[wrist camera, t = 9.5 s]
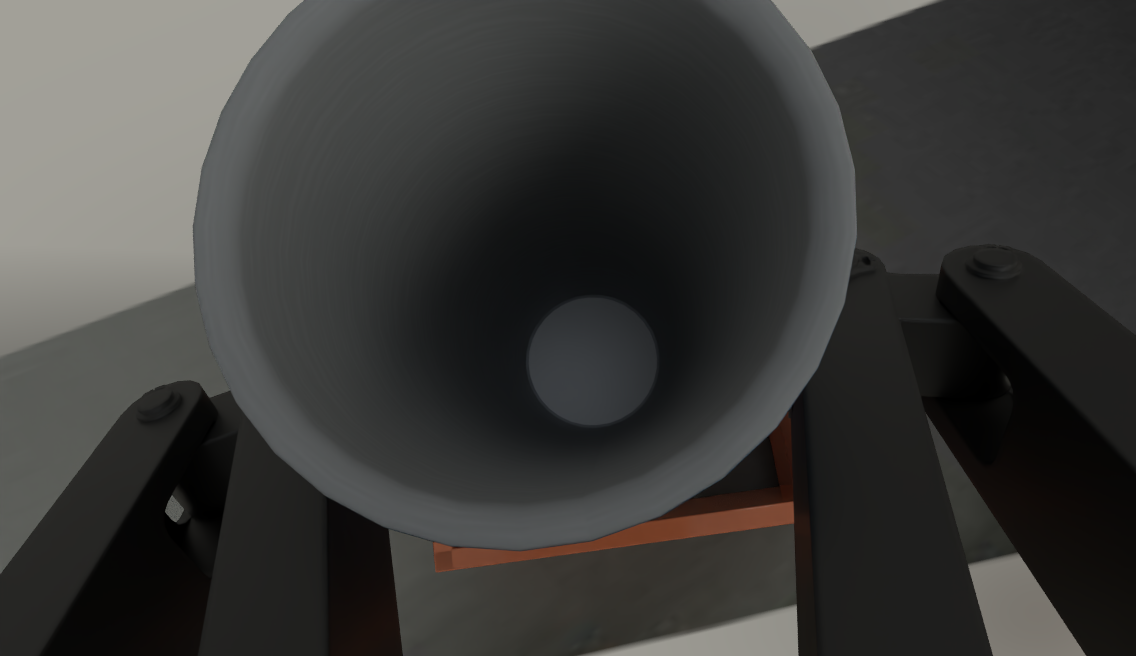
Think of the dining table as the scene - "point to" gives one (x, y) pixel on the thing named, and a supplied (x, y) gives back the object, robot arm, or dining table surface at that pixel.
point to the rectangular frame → (667, 518)
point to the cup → (523, 254)
